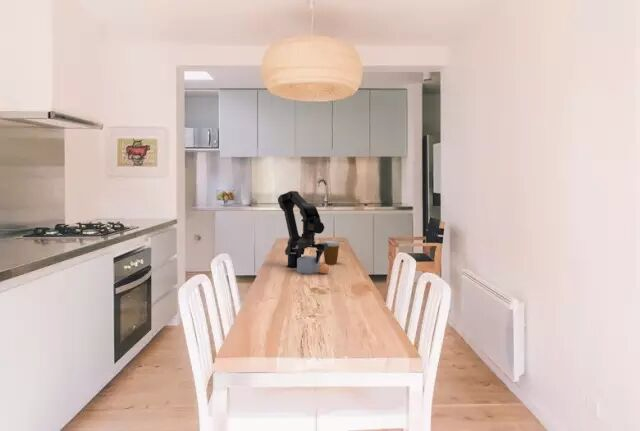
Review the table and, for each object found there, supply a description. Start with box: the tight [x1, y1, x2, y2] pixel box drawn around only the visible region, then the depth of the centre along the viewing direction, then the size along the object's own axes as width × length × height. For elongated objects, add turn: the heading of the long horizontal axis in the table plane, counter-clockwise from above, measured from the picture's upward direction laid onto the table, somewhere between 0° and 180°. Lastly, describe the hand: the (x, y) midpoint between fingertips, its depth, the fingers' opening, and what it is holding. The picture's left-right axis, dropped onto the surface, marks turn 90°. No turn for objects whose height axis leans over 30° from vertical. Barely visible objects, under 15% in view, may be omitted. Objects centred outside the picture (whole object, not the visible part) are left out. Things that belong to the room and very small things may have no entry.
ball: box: [318, 262, 330, 275], centre depth 238 cm, size 5×5×5 cm
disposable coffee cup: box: [322, 240, 341, 266], centre depth 265 cm, size 10×10×12 cm
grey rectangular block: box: [296, 255, 321, 275], centre depth 243 cm, size 8×10×7 cm
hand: (308, 262), depth 243 cm, fingers open, 9 cm apart
